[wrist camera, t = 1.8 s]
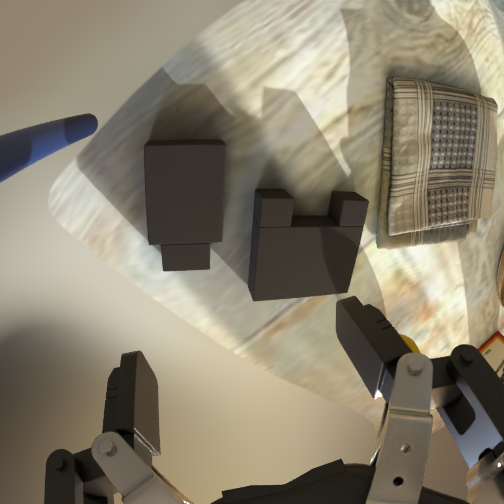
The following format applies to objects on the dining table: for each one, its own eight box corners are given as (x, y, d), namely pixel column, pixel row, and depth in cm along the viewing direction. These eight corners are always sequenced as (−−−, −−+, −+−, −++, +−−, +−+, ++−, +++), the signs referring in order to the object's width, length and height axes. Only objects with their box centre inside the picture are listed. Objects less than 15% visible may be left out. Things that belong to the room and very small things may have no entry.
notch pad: (247, 286, 31) (253, 301, 29) (255, 188, 26) (261, 197, 24) (337, 280, 33) (347, 293, 31) (355, 192, 29) (369, 200, 26)
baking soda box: (497, 330, 53) (537, 373, 39) (496, 343, 56) (531, 383, 43) (470, 356, 54) (508, 402, 40) (470, 367, 57) (504, 410, 44)
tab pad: (153, 257, 27) (151, 272, 25) (147, 141, 22) (143, 145, 20) (218, 255, 29) (221, 269, 26) (222, 139, 24) (226, 143, 22)
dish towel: (380, 72, 23) (400, 72, 20) (487, 97, 26) (506, 101, 23) (370, 249, 32) (385, 264, 29) (470, 230, 35) (486, 240, 32)
